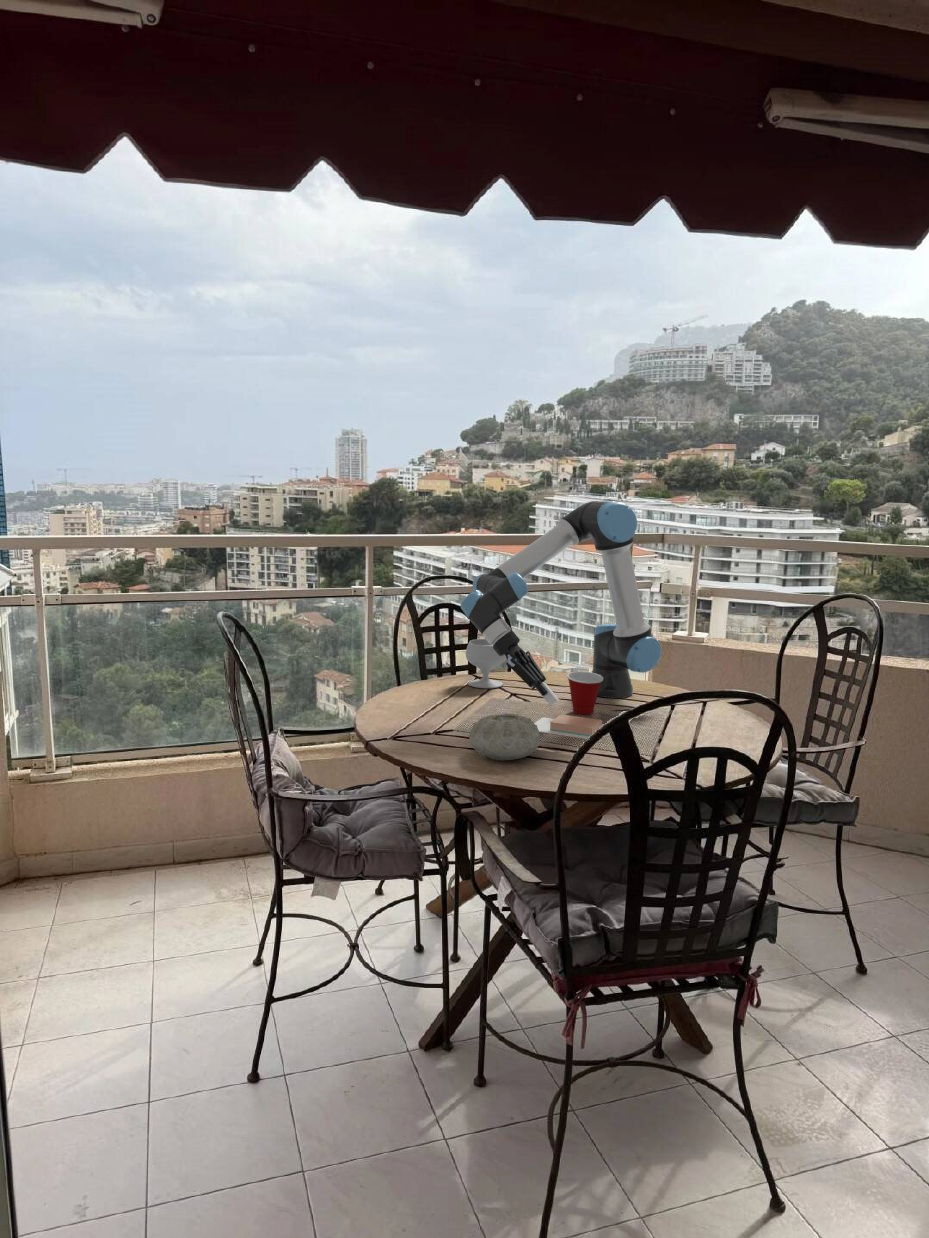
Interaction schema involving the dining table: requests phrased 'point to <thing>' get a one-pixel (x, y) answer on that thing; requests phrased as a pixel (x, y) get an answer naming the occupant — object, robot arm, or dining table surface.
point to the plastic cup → (584, 691)
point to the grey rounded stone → (505, 736)
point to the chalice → (484, 662)
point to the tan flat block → (575, 725)
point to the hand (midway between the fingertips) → (554, 702)
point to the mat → (544, 726)
